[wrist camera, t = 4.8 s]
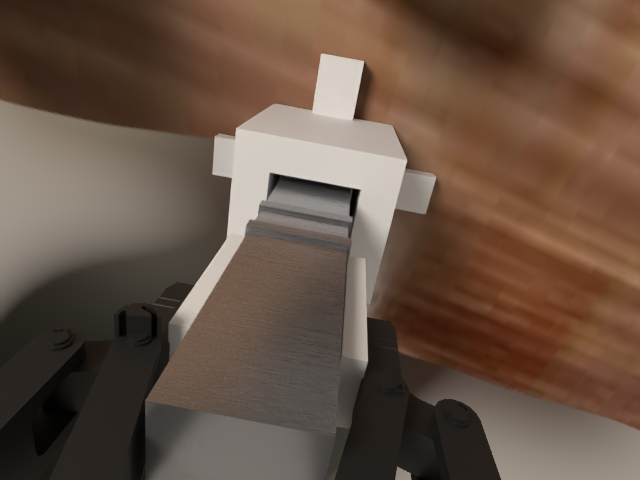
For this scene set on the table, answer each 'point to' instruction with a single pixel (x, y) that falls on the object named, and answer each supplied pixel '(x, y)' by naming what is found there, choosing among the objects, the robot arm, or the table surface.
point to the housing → (325, 161)
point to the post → (261, 351)
